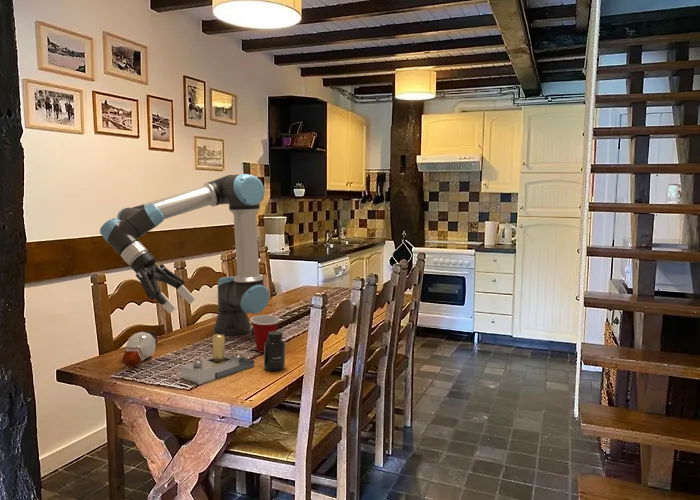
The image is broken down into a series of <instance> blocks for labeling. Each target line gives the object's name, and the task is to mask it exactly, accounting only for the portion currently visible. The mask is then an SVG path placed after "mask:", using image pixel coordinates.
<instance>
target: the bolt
mask: <svg viewBox="0 0 700 500" xmlns="http://www.w3.org/2000/svg"><path fill="white" fill-rule="evenodd" d="M145 333H149V334H151V335H152V337H153V338H154V339H155V342H156V346H157V345H158V340H157V338H158V335H157V333H156V332H155V330H146V331H145Z"/></svg>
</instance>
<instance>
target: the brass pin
mask: <svg viewBox="0 0 700 500" xmlns="http://www.w3.org/2000/svg"><path fill="white" fill-rule="evenodd" d="M225 355H226V354H225V335H224V334H216V333H215V334H212V356H213V363H216V364H219V363H222V362H225Z"/></svg>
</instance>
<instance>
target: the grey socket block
mask: <svg viewBox="0 0 700 500" xmlns="http://www.w3.org/2000/svg"><path fill="white" fill-rule="evenodd" d="M236 366H239V359H236V358H233V357H232V356H229V355H226V354H225V362H222V363H219V364H216V363H213V355H212V356H209V357H208V356H207V357H205V358H203V359H196V360H194V361H192V362H187V363H186V364H181V365H180V379H182V378H184V379H187V380H190V381H192V382H195V383H197V384H196V385H198V386H199V385H203V384H206V383H210V382H212V381H215V380H216V379H215V373H217V372H220V371H223V370H227V369H230V368H233V367H236ZM184 379H183V380H184ZM187 380H186V381H187ZM190 381H189V382H190ZM192 382H191V383H192ZM195 383H194V384H195Z"/></svg>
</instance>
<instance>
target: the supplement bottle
mask: <svg viewBox="0 0 700 500" xmlns="http://www.w3.org/2000/svg"><path fill="white" fill-rule="evenodd" d="M283 337H284V336H283V332H282V331H279V330H276V331H271V332H268V337H267V338H268V340H267V341H266V342H265V344H264V352H263V367H264V370H265V371H267V372H268V371H269V372H280V371H282V370H284V369H285V367H286V342H285V340H283Z"/></svg>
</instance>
